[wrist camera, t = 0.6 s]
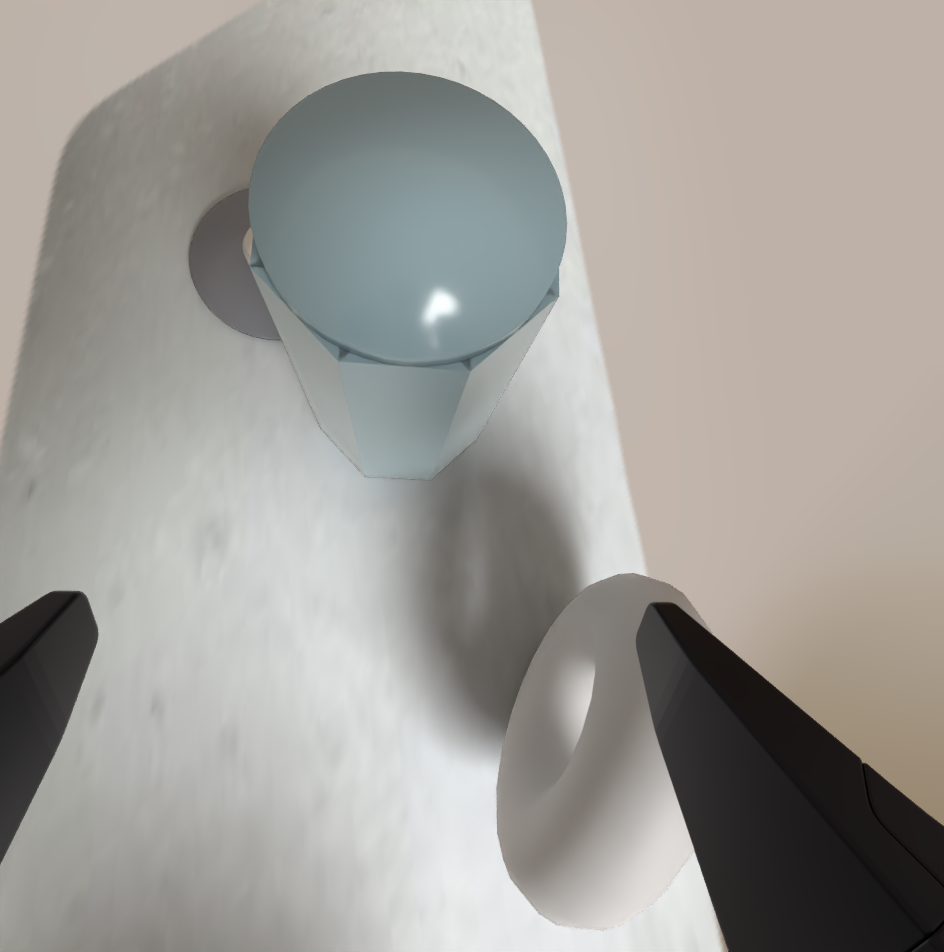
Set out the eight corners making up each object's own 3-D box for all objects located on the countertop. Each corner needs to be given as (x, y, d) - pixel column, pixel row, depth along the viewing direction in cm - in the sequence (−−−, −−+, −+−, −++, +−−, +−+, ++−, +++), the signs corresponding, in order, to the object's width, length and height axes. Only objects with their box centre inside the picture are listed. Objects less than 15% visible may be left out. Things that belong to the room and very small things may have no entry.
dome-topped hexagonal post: (508, 410, 24) (627, 230, 12) (396, 510, 23) (402, 421, 11) (407, 303, 25) (423, 22, 12) (290, 395, 23) (176, 179, 11)
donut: (545, 848, 21) (675, 1066, 12) (461, 812, 21) (521, 1005, 11) (633, 596, 24) (802, 601, 14) (557, 562, 23) (675, 544, 14)
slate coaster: (396, 281, 25) (395, 277, 24) (259, 372, 23) (257, 369, 23) (297, 162, 25) (296, 157, 25) (156, 243, 24) (154, 239, 23)
